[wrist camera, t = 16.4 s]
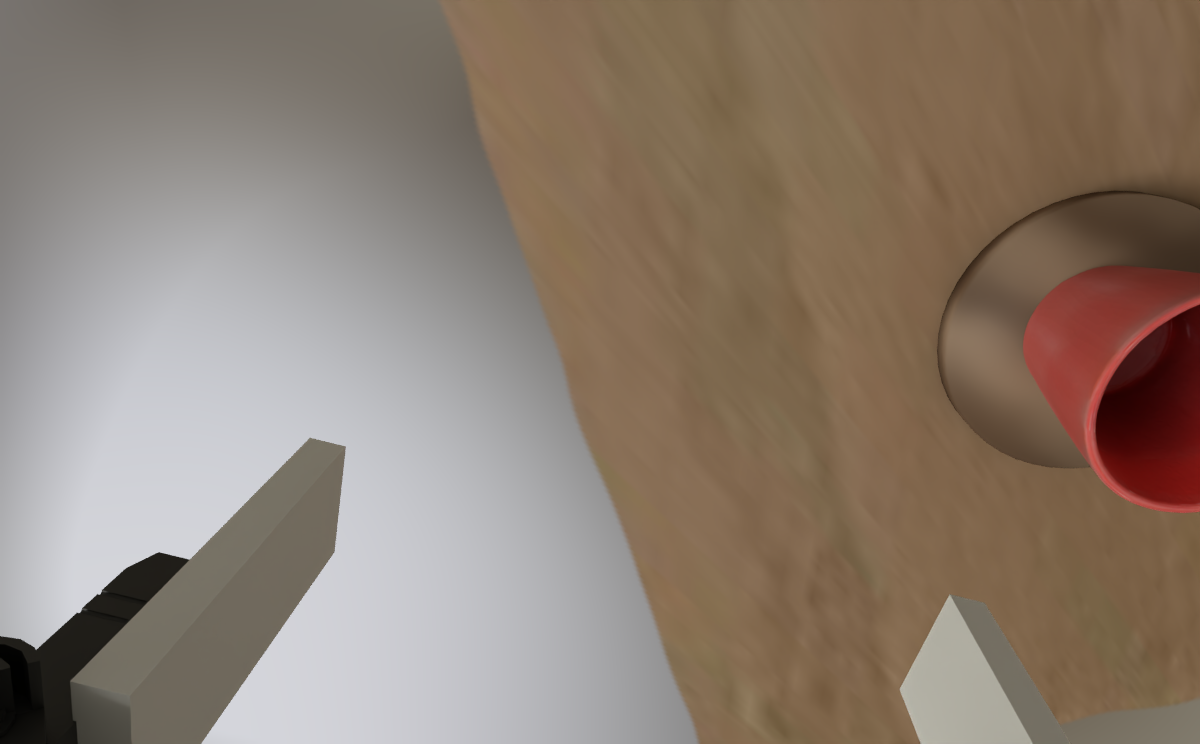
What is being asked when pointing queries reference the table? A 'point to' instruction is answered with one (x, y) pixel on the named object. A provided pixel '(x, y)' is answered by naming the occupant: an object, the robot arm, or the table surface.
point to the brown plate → (1016, 287)
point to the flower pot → (1126, 378)
